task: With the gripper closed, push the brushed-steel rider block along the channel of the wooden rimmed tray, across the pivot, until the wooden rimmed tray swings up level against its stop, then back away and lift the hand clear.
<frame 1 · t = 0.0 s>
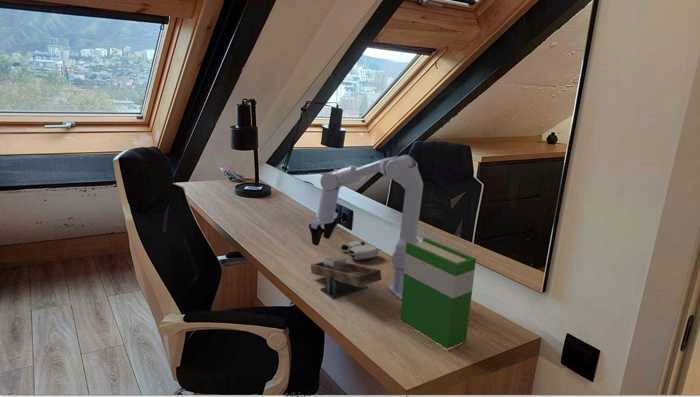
hand: (320, 241, 162), 11 cm above the table, tool pointing down, fingers open, 7 cm apart
hardback book: (431, 331, 128), on the table
rider: (334, 270, 154), point 5 cm above the table, touching wooden rimmed tray
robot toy: (359, 256, 179), on the table
wooden rimmed tray: (344, 271, 149), point 6 cm above the table, hinge at 12.5°, touching rider
pivot stand: (344, 289, 150), on the table
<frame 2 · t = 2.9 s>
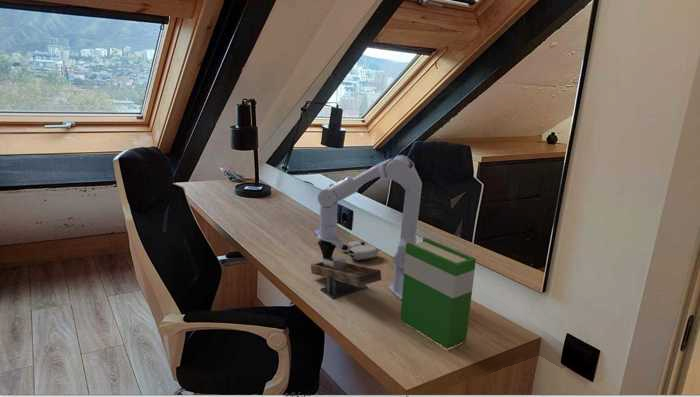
hand: (327, 261, 157), 6 cm above the table, tool pointing down, fingers closed
rider: (334, 270, 154), point 5 cm above the table, touching wooden rimmed tray, gripper
everything else where it was.
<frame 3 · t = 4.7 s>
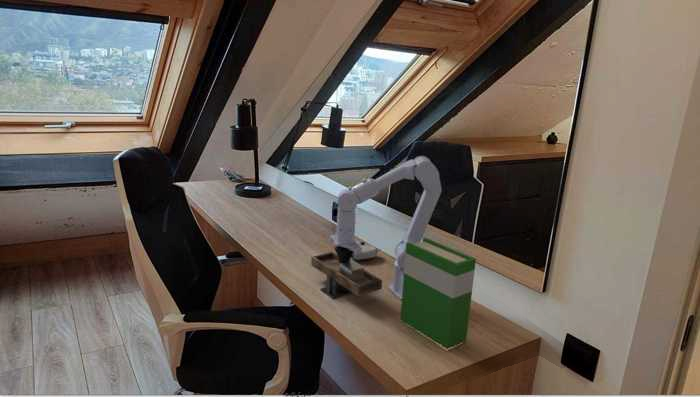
hand: (344, 267, 149), 7 cm above the table, tool pointing down, fingers closed
rider: (350, 276, 147), point 6 cm above the table, tilted 14°, touching gripper
wooden rimmed tray: (344, 272, 149), point 6 cm above the table, hinge at -0.5°
everything else where it was.
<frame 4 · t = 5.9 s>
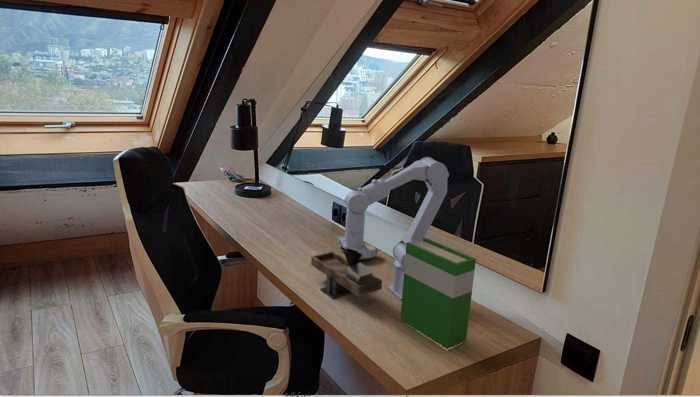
hand: (352, 271, 145), 8 cm above the table, tool pointing down, fingers closed, pressing on rider
rider: (357, 279, 144), point 6 cm above the table, tilted 23°, touching wooden rimmed tray, gripper
wooden rimmed tray: (344, 272, 149), point 6 cm above the table, hinge at -1.0°, touching rider
everything else where it was.
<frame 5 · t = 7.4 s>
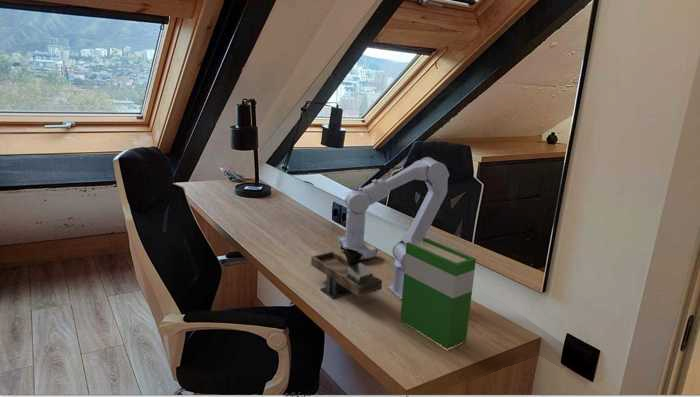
hand: (352, 271, 145), 8 cm above the table, tool pointing down, fingers closed, pressing on rider
rider: (357, 279, 143), point 6 cm above the table, tilted 24°, touching wooden rimmed tray, gripper
everything else where it was.
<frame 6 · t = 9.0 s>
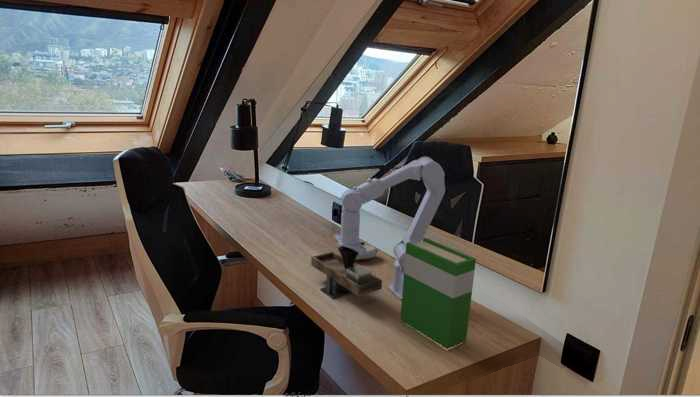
hand: (348, 268, 147), 8 cm above the table, tool pointing down, fingers closed
rider: (357, 281, 144), point 6 cm above the table, tilted 13°, touching wooden rimmed tray
wooden rimmed tray: (344, 272, 149), point 6 cm above the table, hinge at -0.6°, touching rider
everything else where it was.
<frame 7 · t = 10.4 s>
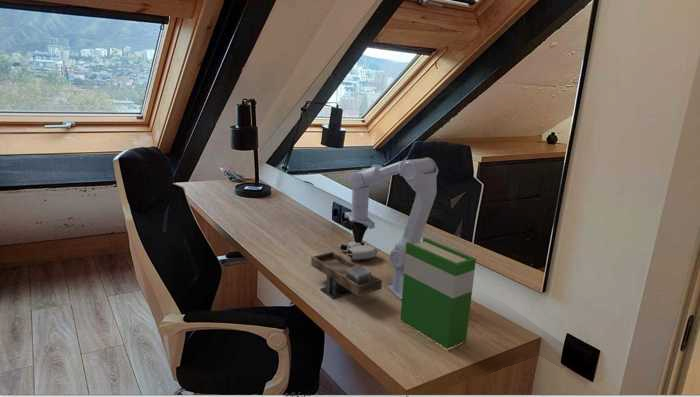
hand: (358, 242, 163), 10 cm above the table, tool pointing down, fingers closed
nothing on the table moved.
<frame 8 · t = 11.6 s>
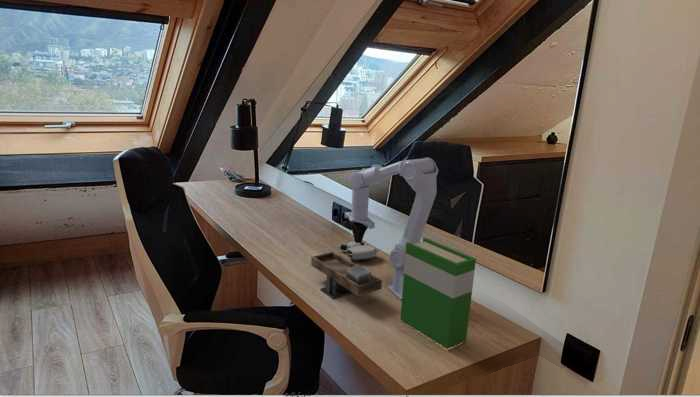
hand: (358, 242, 163), 10 cm above the table, tool pointing down, fingers closed
nothing on the table moved.
at the end: wooden rimmed tray at +0° (first picture: +13°); rider inside the target area on the wooden rimmed tray (1.8 cm from its centre), point 1.2 cm above the wooden rimmed tray's base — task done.
